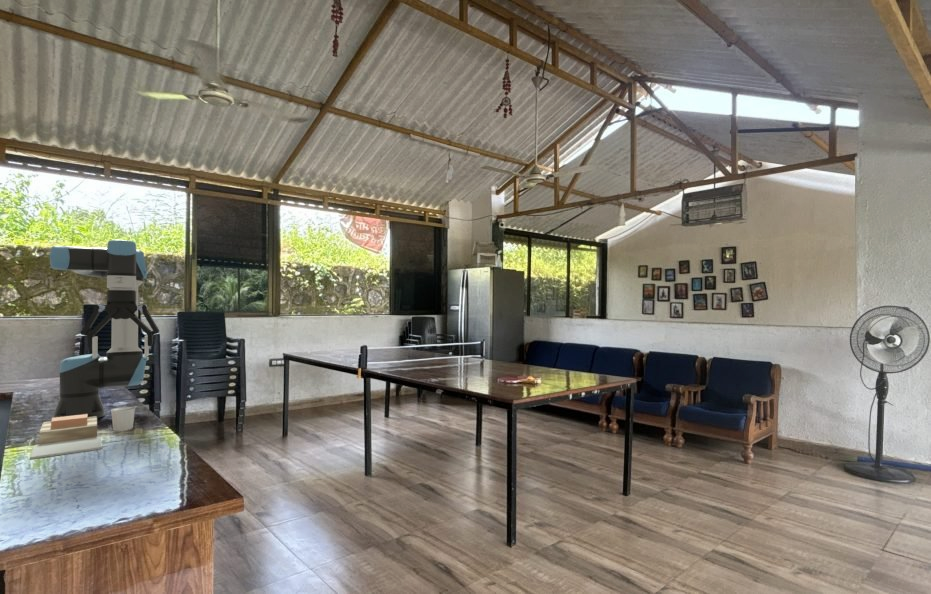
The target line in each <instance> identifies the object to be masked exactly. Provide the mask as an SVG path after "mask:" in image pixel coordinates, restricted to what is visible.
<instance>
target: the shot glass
mask: <svg viewBox="0 0 931 594" xmlns="http://www.w3.org/2000/svg"><path fill="white" fill-rule="evenodd" d="M110 411H111V421H112V431H114V432H123V430H124V431H128V429H129V430H132V429H133V428H134V422H135V421H134V420H135V413H136V407H135V406H121V407H119V406H118V407H114V408H112V409H110Z"/></svg>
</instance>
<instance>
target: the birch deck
mask: <svg viewBox="0 0 931 594" xmlns="http://www.w3.org/2000/svg"><path fill="white" fill-rule="evenodd" d="M38 437H39V438H38V442H39V443H38V445H40V444H48V443H55V442H63V441H70V440H78V439H85V438H93V437H98V418H97V416H93V417H88V418H87V424H85V425H77V426H68V427H60V428H51V420H50V421H43V423H42V425H41V428H40V430H39V436H38Z"/></svg>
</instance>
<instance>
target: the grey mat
mask: <svg viewBox="0 0 931 594" xmlns="http://www.w3.org/2000/svg"><path fill="white" fill-rule="evenodd" d="M102 447H103V445H102V436H97V437H93V438H85V439H78V440H70V441H63V442H55V443H48V444H40V445H39V444H35V445H34V446H33V448H32V451H31V454H30V456H29V460H34V459H42V458H49V457H55V456H61V455H69V454H74V453H82V452H84V453H85V452H90V451H97V450H102Z"/></svg>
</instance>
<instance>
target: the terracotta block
mask: <svg viewBox="0 0 931 594" xmlns="http://www.w3.org/2000/svg"><path fill="white" fill-rule="evenodd" d="M87 418H88V414H82V415H73V416H64V417H55V418H53V417H52V418H51V420H50V421H51V428H60V427H68V426H77V425H85V424H87Z"/></svg>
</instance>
